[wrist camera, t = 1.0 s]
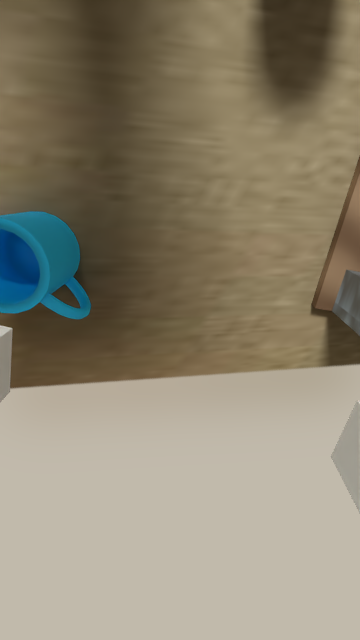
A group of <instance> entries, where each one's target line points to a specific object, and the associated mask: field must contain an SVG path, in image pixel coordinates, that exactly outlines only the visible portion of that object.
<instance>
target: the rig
mask: <svg viewBox="0 0 360 640" xmlns="http://www.w3.org/2000/svg"><path fill="white" fill-rule="evenodd" d="M312 306H313V307H314V308H317V309H323V310H329V311H332V312H333V313H335V314H336V315H337V316H338V317H339V318H340V319H341V320H342V321H344V322H345V323H346V324H347V325H348V326H349V327H350V328H351V329H353V330H354V331H355V332H356V333H357V334H358V335H359V336H360V157H359V160H358V163H357V166H356V169H355V172H354V176H353V179H352V182H351V185H350V188H349V191H348V194H347V197H346V200H345V203H344V206H343V209H342V212H341V216H340V219H339V222H338V225H337V228H336V231H335V234H334V237H333V240H332V243H331V246H330V249H329V252H328V255H327V259H326V262H325V265H324V268H323V271H322V274H321V277H320V280H319V283H318V286H317V289H316V292H315V295H314V298H313V302H312Z"/></svg>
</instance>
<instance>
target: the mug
mask: <svg viewBox="0 0 360 640" xmlns="http://www.w3.org/2000/svg"><path fill="white" fill-rule="evenodd" d="M79 262H80V249H79V244H78V242H77V239H76V237H75V234H74V233H73V232H72V230H71V229H70V228H69V227H68V225H67V224H66V223H65V222H63V221H62V220H60V219H59V218H58V217H56V216H54V215H51V214H48V213H46V212H32V211H31V212H23V213H16V214H8V215H1V216H0V312H1V313H20V312H23V311H26V310H30V309H31V308H33V307H34V306H35V305H37V304H38V303H39V302H41V303H42V304H43V305H44V306H46V307H47V308H49V309H51V310H52V311H54V312H56V313H57V314H60V315H62V316H65V317H67V318H70V319H82V318H84V317H86V316H88V315H89V313H90V309H91V303H90V300H89V297H88V295H87V294H86V292H85V290H84V289H83V288H82V286H81V285H80V284H79V283H78V281H77V280H76V279H75V278H74V277H73V276H74V274H75V273H76V271H77V270H78V266H79ZM64 284H65V285H66V286H67V287H68V288H69V289H70V290H71V291H72V293H73V294H74V295H75V297H76V298H77V300H78V302H79V304H80V308H74V307H72V306H70V305H67V304H65V303H63V302H62V301H60V300H59V299H57V298H55V297H54V296H53V295H51V294H52V293H53V292H54V291H56V290H57V289H59V288H60V287H61V286H63V285H64Z"/></svg>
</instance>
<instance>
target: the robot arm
mask: <svg viewBox="0 0 360 640" xmlns="http://www.w3.org/2000/svg"><path fill="white" fill-rule="evenodd" d="M12 329H13V328H10V327H5V326H0V402H1V400H2V399H3V398H4V397H5V396H6V395H7V394H8V393H9V392H10V376H11V352H12ZM331 458H332V460H333V462H334V464H335V465H336V468H337V470H338V471H339V473H340V475H341V477H342V479H343V481H344V483H345V485H346V487H347V489H348V491H349V493H350V495H351V497H352V499H353V501H354V503H355V505H356V507H357V509H358V510H359V512H360V401H358V400H357V402H356V404H355V406H354V408H353V410H352V413H351V415H350V417H349V419H348V421H347V423H346V425H345V427H344V430H343V432H342V434H341V436H340V438H339V441H338V442H337V445H336V447H335V449H334V451H333V453H332V455H331Z"/></svg>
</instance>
